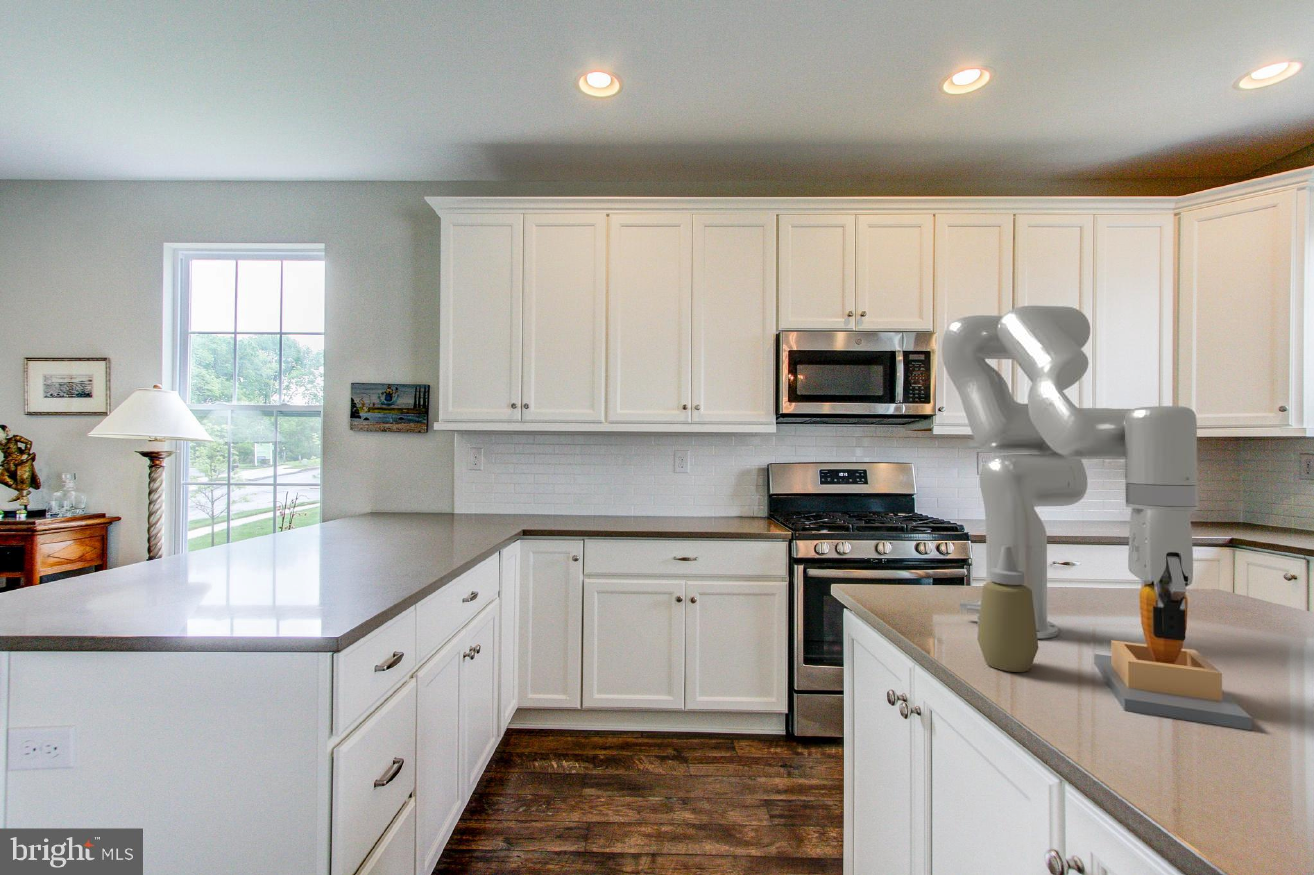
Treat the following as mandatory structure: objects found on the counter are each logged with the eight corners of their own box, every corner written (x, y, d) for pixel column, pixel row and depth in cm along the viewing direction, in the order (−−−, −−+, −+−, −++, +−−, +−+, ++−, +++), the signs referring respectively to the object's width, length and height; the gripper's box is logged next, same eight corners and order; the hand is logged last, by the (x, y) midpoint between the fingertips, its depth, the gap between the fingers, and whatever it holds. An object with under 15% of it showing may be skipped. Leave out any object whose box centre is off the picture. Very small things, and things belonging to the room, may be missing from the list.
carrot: (1130, 665, 83) (1129, 556, 84) (1164, 664, 84) (1162, 556, 84) (1164, 679, 78) (1162, 563, 79) (1199, 678, 79) (1197, 563, 79)
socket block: (1124, 710, 76) (1124, 670, 76) (1094, 663, 92) (1094, 630, 92) (1251, 730, 70) (1251, 687, 71) (1195, 676, 87) (1195, 642, 87)
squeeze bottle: (1031, 660, 93) (1030, 544, 94) (1045, 679, 86) (1045, 552, 86) (973, 654, 96) (972, 541, 96) (982, 672, 88) (981, 549, 89)
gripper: (1111, 492, 91) (1113, 613, 90) (1143, 501, 76) (1145, 647, 75) (1175, 494, 87) (1176, 619, 87) (1222, 504, 72) (1224, 656, 72)
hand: (1162, 631), depth 81 cm, fingers closed on carrot, 4 cm apart
